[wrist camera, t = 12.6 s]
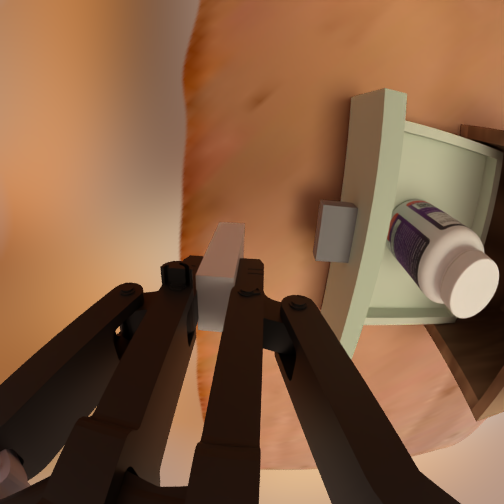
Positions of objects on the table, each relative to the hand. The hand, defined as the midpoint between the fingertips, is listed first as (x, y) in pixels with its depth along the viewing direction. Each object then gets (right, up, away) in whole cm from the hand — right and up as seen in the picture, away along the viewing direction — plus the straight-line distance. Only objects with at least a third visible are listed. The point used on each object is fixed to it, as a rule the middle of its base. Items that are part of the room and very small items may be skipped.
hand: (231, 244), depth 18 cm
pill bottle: (+14, +1, +4) cm, 15 cm away
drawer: (+14, +2, +6) cm, 15 cm away
